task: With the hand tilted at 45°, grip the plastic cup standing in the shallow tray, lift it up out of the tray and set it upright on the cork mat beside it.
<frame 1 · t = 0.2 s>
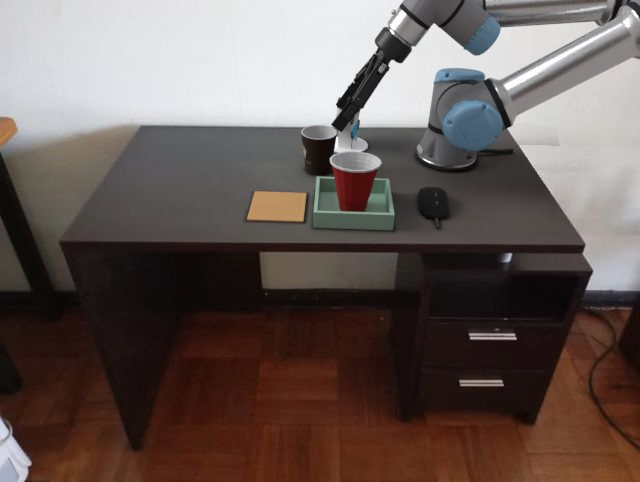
hand: (338, 117, 113), 16 cm above the table, tool tilted 35°, fingers open, 13 cm apart
coffee mug: (319, 167, 128), on the table
plastic cup: (352, 209, 111), resting on tray
tray: (352, 209, 111), on the table
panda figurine: (346, 146, 138), on the table
cork mat: (278, 206, 111), on the table
gaming mouse: (433, 210, 112), on the table
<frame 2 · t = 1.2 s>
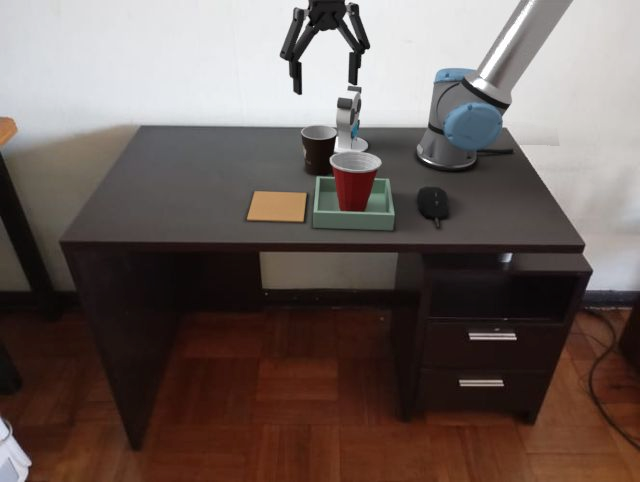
hand: (325, 88, 109), 23 cm above the table, tool pointing down, fingers open, 13 cm apart
nothing on the table moved.
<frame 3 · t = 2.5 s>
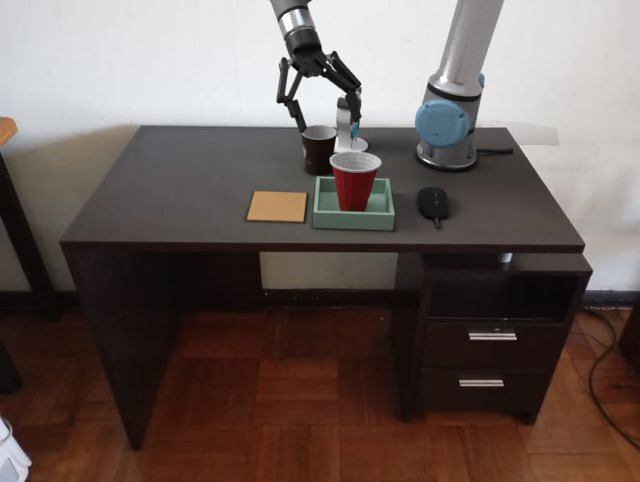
hand: (331, 125, 110), 16 cm above the table, tool tilted 45°, fingers open, 13 cm apart
nothing on the table moved.
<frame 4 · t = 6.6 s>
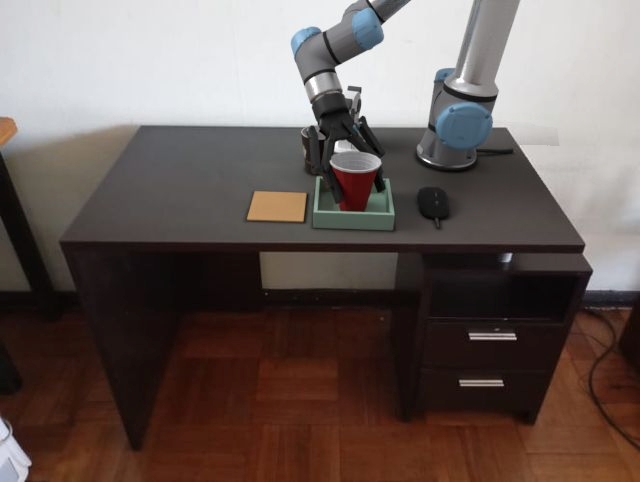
hand: (361, 196, 106), 5 cm above the table, tool tilted 45°, fingers closed on plastic cup, 10 cm apart
plastic cup: (352, 208, 111), resting on tray, touching gripper
everything else where it was.
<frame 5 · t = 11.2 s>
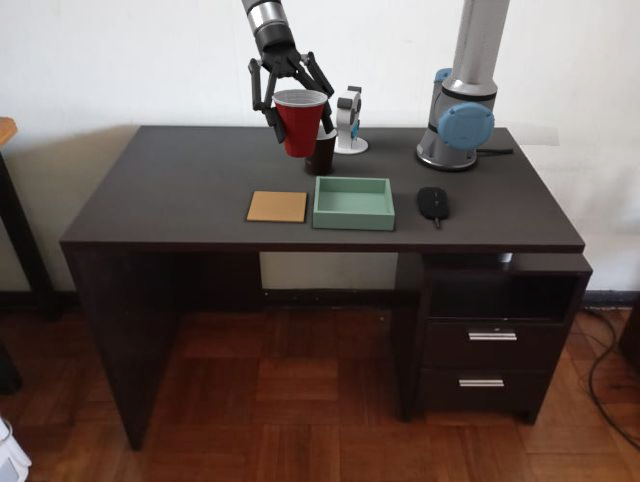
hand: (306, 136, 99), 18 cm above the table, tool tilted 45°, fingers closed on plastic cup, 10 cm apart
plastic cup: (300, 152, 104), point 13 cm above the table, touching gripper
everything else where it was.
when the fingers open (5 cm above the table, at t = 15.9 s): plastic cup stays where it is, resting on cork mat.
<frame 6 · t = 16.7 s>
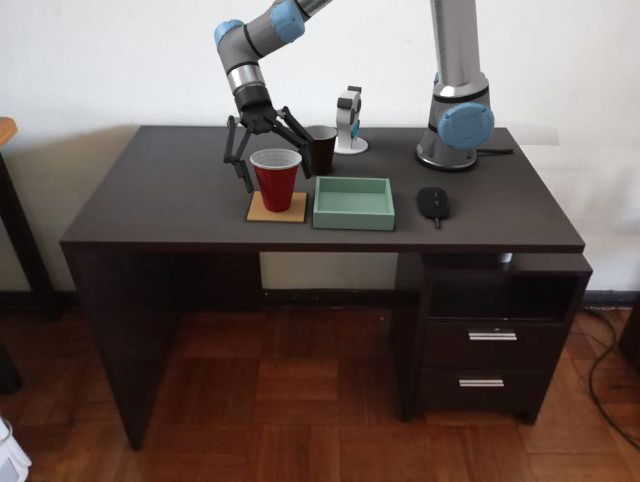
hand: (281, 184, 106), 7 cm above the table, tool tilted 45°, fingers open, 13 cm apart
plastic cup: (277, 206, 111), resting on cork mat
everything else where it was.
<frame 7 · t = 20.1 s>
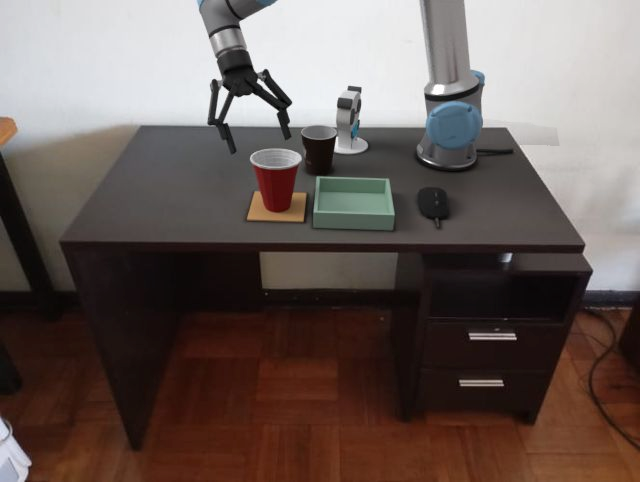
hand: (261, 145, 115), 10 cm above the table, tool tilted 35°, fingers open, 13 cm apart
nothing on the table moved.
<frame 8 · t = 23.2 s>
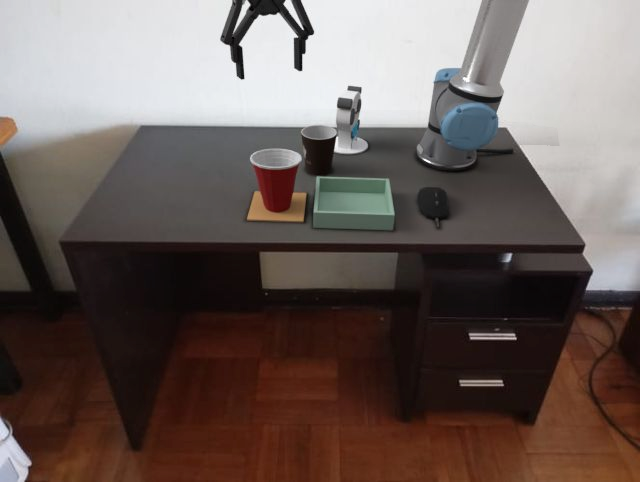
hand: (270, 73, 109), 25 cm above the table, tool pointing down, fingers open, 13 cm apart
nothing on the table moved.
at the end: plastic cup 0.1 cm off-centre on the cork mat, point 0.2 cm above the cork mat's base; plastic cup tilted 0°; plastic cup touching cork mat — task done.
